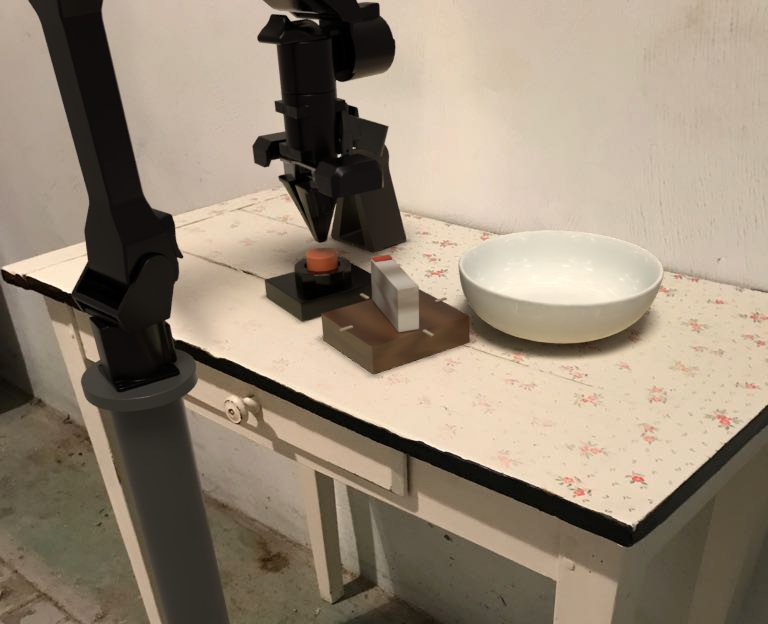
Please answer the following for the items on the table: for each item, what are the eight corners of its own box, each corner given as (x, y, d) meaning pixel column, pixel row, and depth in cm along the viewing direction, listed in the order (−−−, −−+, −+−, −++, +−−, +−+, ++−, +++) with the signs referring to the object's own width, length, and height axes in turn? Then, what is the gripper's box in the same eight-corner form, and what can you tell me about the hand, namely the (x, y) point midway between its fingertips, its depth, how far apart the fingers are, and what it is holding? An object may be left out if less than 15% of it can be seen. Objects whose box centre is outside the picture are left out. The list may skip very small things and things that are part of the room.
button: (316, 276, 93) (315, 260, 92) (301, 267, 96) (300, 252, 94) (343, 268, 95) (342, 253, 94) (328, 260, 97) (327, 245, 96)
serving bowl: (500, 382, 79) (504, 314, 75) (432, 301, 95) (432, 242, 91) (692, 350, 83) (706, 284, 79) (596, 278, 99) (603, 220, 95)
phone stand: (406, 241, 112) (405, 148, 105) (374, 253, 109) (370, 157, 102) (363, 227, 117) (358, 137, 110) (330, 238, 114) (324, 146, 107)
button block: (302, 321, 92) (299, 287, 89) (266, 297, 98) (262, 264, 96) (384, 298, 96) (383, 264, 94) (345, 275, 103) (343, 244, 100)
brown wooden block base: (377, 382, 80) (375, 352, 78) (311, 336, 89) (308, 308, 87) (483, 346, 85) (484, 317, 83) (411, 306, 94) (410, 279, 92)
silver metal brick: (419, 329, 82) (418, 283, 79) (398, 332, 81) (397, 286, 79) (391, 296, 89) (390, 253, 86) (372, 299, 88) (370, 256, 86)
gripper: (426, 91, 81) (426, 248, 90) (330, 69, 94) (339, 208, 103) (328, 107, 76) (340, 271, 86) (242, 81, 89) (260, 226, 98)
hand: (321, 241), depth 93 cm, fingers closed
